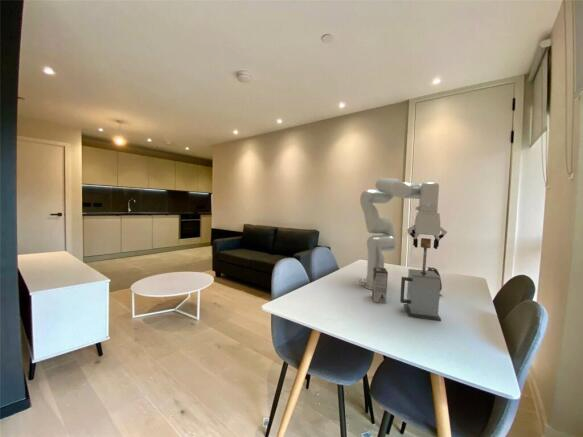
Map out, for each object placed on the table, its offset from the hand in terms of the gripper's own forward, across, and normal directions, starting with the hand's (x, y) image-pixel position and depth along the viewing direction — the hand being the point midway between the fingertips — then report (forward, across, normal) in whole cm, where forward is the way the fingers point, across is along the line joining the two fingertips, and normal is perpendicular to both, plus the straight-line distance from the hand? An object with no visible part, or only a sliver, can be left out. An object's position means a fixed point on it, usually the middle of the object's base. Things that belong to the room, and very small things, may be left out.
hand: (425, 247), depth 116 cm
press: (+31, -1, 0) cm, 31 cm away
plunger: (+16, 0, 0) cm, 16 cm away
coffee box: (+31, -18, +11) cm, 38 cm away
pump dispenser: (+31, +12, +31) cm, 46 cm away
